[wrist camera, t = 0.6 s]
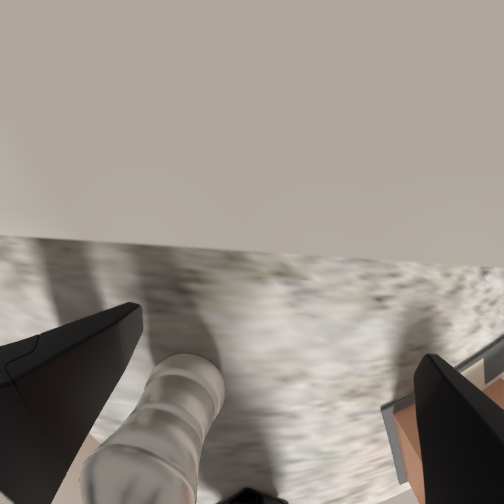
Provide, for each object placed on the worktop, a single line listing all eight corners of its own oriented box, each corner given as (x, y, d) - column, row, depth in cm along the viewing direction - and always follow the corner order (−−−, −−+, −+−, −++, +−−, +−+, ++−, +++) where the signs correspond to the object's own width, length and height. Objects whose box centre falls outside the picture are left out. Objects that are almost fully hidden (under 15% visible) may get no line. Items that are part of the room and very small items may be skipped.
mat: (399, 482, 27) (400, 485, 27) (380, 409, 26) (382, 411, 26) (538, 391, 25) (540, 392, 25) (541, 306, 24) (543, 307, 24)
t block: (406, 477, 27) (433, 533, 17) (392, 414, 26) (430, 477, 16) (499, 422, 25) (538, 462, 16) (499, 350, 25) (556, 386, 15)
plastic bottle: (240, 395, 26) (207, 596, 7) (176, 413, 27) (98, 581, 7) (209, 335, 26) (113, 530, 6) (144, 357, 27) (14, 510, 7)
